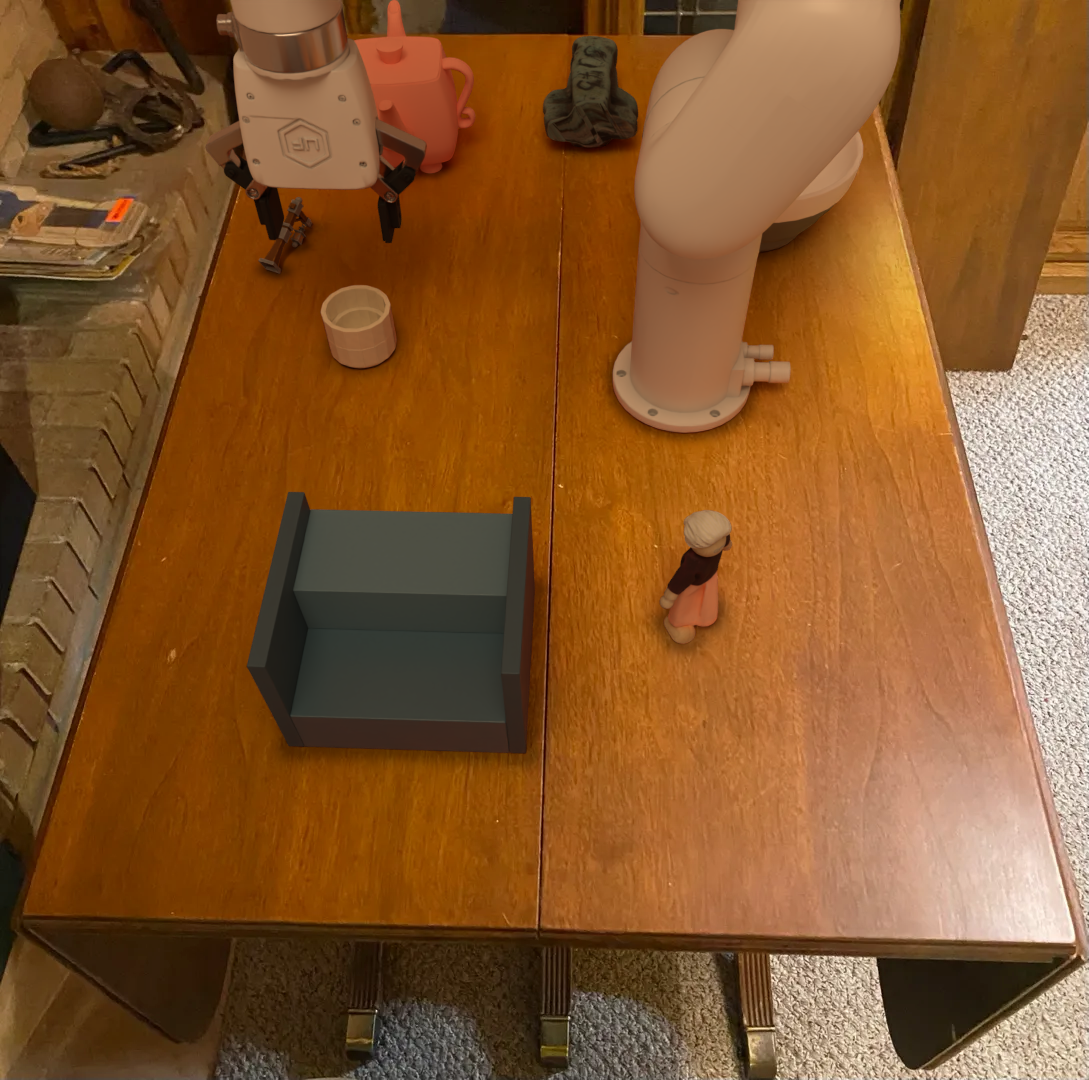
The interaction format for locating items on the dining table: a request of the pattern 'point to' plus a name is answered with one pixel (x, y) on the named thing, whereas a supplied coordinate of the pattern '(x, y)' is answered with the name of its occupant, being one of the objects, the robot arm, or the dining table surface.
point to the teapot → (417, 90)
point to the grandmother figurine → (696, 576)
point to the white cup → (359, 326)
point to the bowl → (816, 197)
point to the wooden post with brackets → (287, 235)
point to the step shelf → (398, 629)
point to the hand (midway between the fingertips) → (333, 231)
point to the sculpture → (591, 98)
